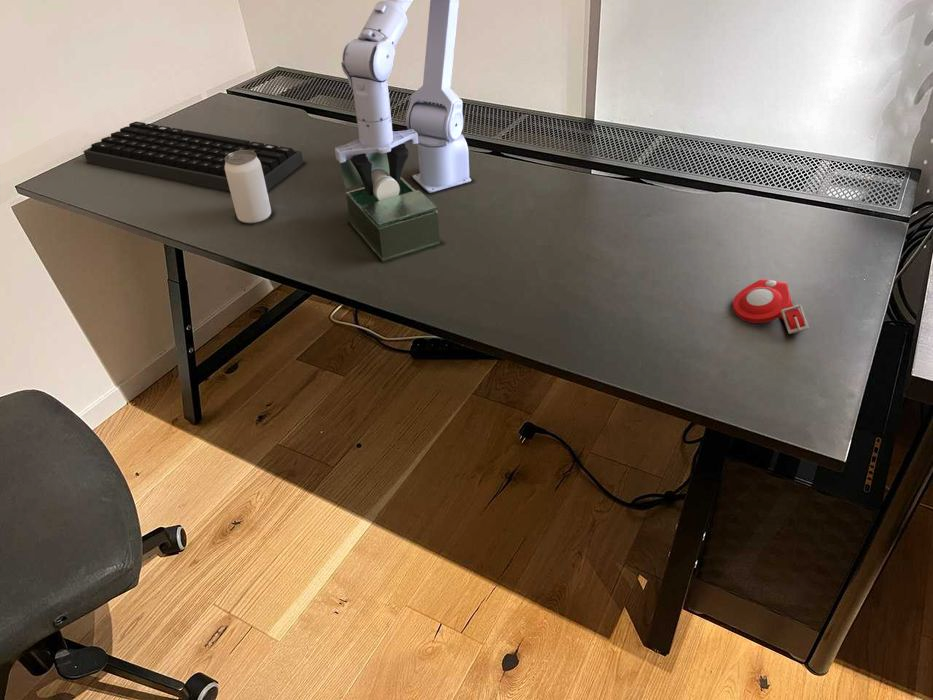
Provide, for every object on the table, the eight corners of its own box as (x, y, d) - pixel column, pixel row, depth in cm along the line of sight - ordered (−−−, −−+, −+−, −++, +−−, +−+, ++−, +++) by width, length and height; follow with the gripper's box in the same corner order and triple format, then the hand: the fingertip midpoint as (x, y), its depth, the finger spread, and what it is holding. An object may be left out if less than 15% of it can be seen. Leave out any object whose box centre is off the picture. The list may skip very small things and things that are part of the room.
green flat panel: (345, 188, 136) (345, 188, 136) (401, 173, 140) (400, 173, 140) (335, 147, 133) (334, 147, 134) (391, 133, 137) (391, 133, 138)
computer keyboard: (303, 163, 161) (300, 146, 159) (258, 197, 150) (254, 179, 148) (139, 133, 176) (134, 117, 174) (87, 162, 165) (81, 146, 163)
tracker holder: (721, 310, 115) (748, 267, 119) (725, 331, 118) (752, 288, 122) (803, 325, 107) (829, 278, 111) (805, 347, 110) (831, 300, 114)
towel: (360, 188, 136) (382, 193, 139) (372, 200, 132) (394, 205, 135) (369, 164, 134) (390, 170, 137) (381, 176, 131) (403, 182, 133)
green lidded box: (350, 223, 141) (345, 188, 136) (404, 208, 145) (401, 173, 140) (382, 261, 130) (378, 224, 126) (440, 244, 134) (437, 207, 130)
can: (263, 225, 141) (249, 165, 134) (231, 223, 143) (215, 163, 135) (277, 208, 146) (264, 149, 139) (245, 206, 147) (231, 147, 140)
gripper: (341, 133, 121) (352, 209, 130) (423, 113, 126) (428, 188, 135) (326, 118, 126) (337, 192, 135) (405, 100, 131) (411, 172, 140)
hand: (382, 189), depth 135 cm, fingers closed on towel, 4 cm apart
